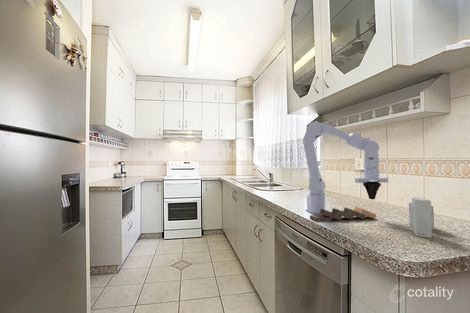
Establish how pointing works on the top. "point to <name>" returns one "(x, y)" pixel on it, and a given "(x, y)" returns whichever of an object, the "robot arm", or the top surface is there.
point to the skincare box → (421, 217)
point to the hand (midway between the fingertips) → (371, 199)
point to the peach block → (365, 212)
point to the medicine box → (412, 219)
